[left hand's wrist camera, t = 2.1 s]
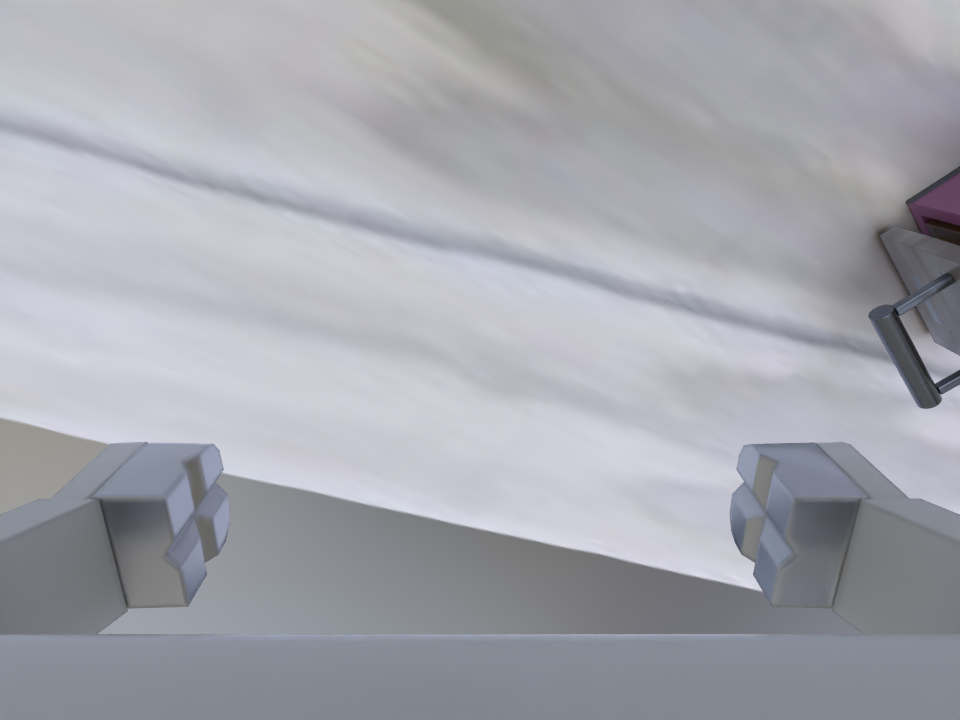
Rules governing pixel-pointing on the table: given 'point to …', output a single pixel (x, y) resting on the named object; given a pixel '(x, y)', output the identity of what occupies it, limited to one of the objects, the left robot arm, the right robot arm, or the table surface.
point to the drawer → (923, 303)
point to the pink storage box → (938, 202)
